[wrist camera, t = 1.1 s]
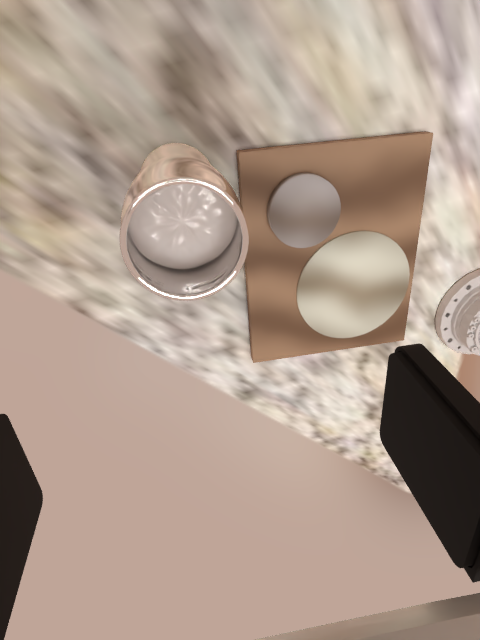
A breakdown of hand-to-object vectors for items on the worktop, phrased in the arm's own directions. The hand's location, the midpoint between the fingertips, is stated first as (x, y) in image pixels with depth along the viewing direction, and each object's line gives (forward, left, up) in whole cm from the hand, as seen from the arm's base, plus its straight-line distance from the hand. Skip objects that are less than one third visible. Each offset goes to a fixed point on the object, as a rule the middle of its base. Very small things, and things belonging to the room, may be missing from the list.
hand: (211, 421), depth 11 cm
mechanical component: (+16, +30, -28) cm, 44 cm away
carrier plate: (+8, +13, -28) cm, 32 cm away
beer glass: (0, 0, -28) cm, 28 cm away
